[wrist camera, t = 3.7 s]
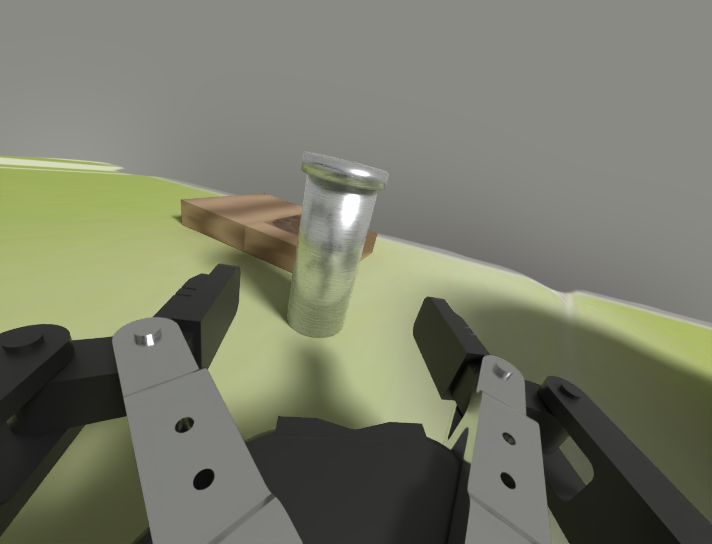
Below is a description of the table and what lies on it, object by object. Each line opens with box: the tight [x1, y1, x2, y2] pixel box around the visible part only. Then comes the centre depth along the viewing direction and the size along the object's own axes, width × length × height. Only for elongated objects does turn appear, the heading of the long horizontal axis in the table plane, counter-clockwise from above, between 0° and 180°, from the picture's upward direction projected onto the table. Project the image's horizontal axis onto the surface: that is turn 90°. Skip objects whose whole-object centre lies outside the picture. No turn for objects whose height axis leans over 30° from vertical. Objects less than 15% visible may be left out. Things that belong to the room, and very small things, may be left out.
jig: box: [181, 194, 377, 273], centre depth 34 cm, size 20×14×3 cm
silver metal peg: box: [287, 152, 389, 338], centre depth 19 cm, size 5×5×12 cm
